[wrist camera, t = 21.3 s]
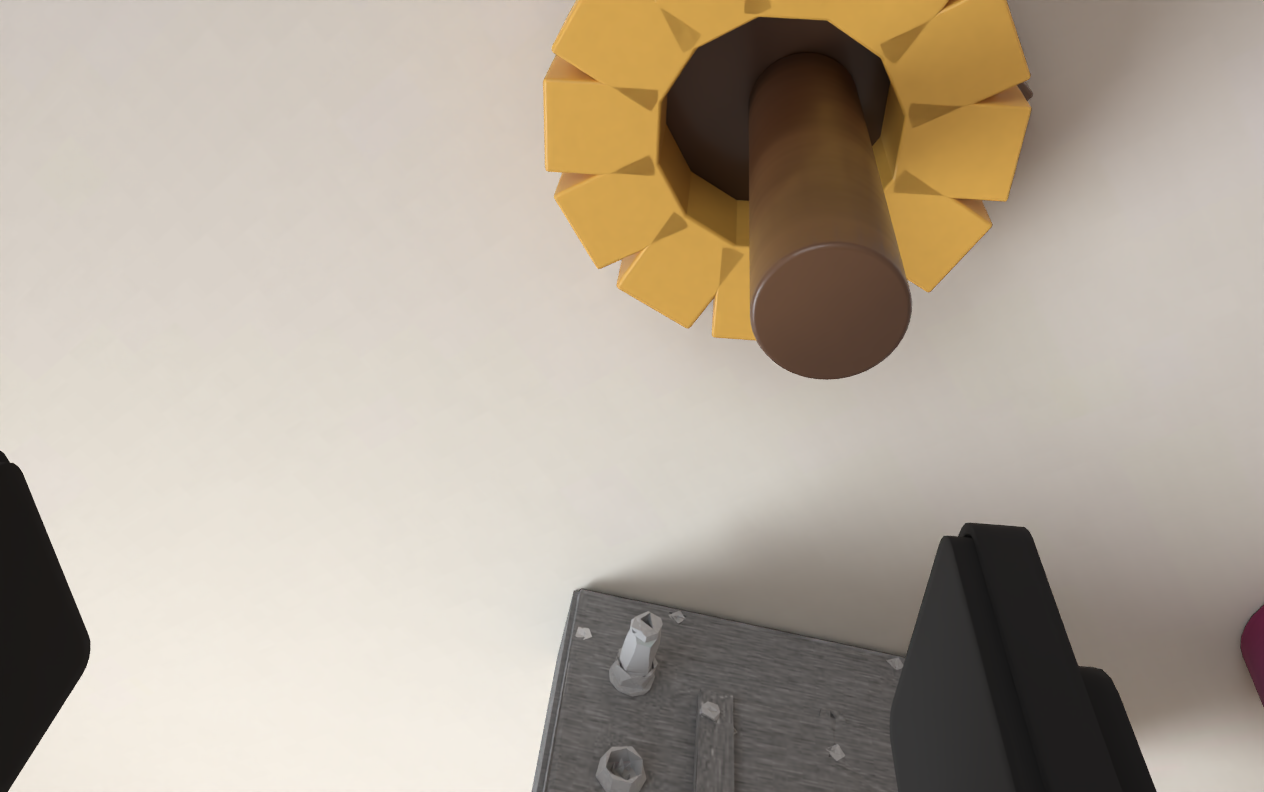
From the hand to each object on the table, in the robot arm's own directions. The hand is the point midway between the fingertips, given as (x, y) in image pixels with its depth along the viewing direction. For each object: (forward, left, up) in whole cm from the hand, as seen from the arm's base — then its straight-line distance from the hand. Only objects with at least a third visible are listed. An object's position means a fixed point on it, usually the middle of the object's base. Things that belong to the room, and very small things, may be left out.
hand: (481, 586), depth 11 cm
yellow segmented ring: (+3, +2, -15) cm, 15 cm away
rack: (+3, +3, -16) cm, 17 cm away
